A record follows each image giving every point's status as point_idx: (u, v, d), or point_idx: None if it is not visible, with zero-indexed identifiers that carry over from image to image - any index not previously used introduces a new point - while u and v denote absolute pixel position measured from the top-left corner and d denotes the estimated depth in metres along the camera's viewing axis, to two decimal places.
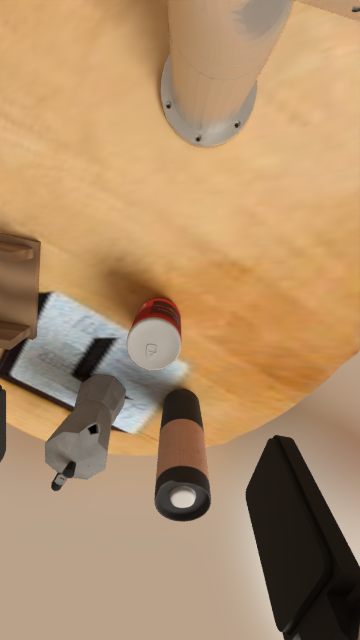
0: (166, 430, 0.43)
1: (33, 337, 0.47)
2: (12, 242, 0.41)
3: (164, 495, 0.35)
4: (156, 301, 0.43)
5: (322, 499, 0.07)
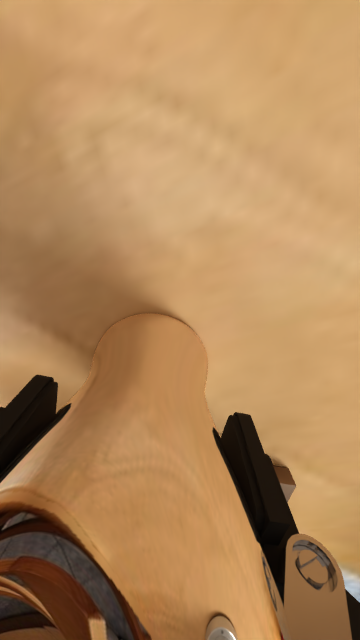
0: None
1: None
2: None
3: None
4: None
5: (266, 464, 0.08)
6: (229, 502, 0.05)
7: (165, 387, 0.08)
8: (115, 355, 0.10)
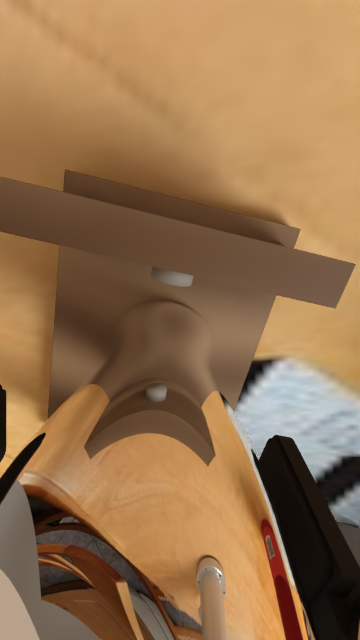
0: None
1: None
2: (227, 228, 0.14)
3: None
4: None
5: (322, 499, 0.07)
6: (233, 428, 0.07)
7: (179, 355, 0.10)
8: (133, 334, 0.12)
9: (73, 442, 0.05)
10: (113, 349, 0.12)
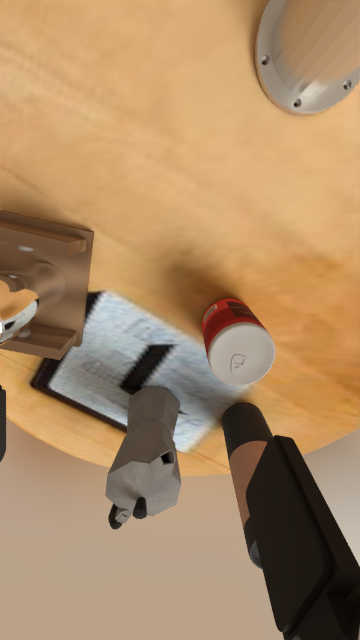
0: (242, 455, 0.36)
1: (79, 344, 0.40)
2: (62, 232, 0.35)
3: None
4: (230, 303, 0.36)
5: (322, 499, 0.07)
6: (22, 280, 0.28)
7: (25, 272, 0.30)
8: None
9: None
10: None
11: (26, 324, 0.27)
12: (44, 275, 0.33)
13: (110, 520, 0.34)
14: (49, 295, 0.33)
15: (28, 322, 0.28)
